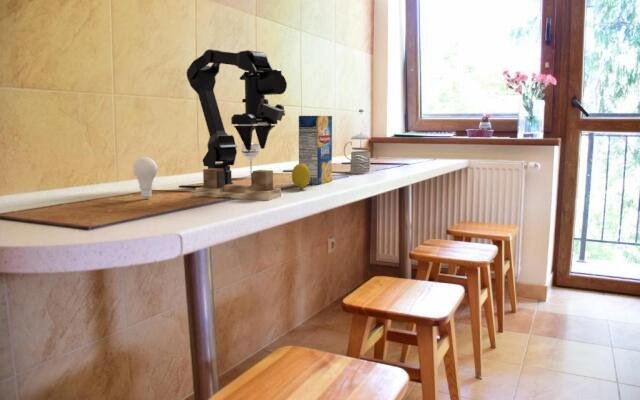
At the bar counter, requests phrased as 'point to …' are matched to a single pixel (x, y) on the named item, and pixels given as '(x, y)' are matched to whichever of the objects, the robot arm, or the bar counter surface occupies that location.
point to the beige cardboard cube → (262, 180)
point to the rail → (239, 195)
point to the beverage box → (316, 147)
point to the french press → (354, 160)
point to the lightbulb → (145, 174)
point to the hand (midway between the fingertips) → (255, 149)
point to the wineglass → (250, 154)
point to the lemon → (301, 175)
